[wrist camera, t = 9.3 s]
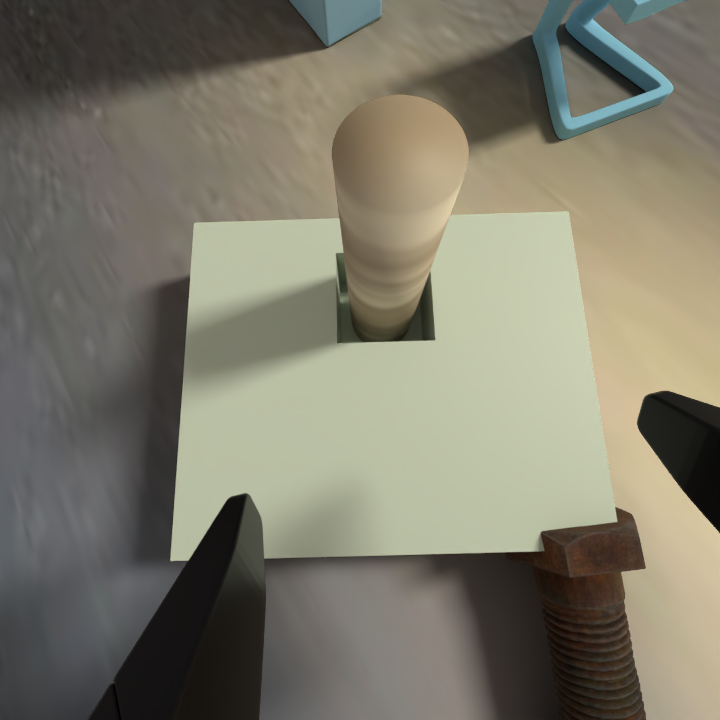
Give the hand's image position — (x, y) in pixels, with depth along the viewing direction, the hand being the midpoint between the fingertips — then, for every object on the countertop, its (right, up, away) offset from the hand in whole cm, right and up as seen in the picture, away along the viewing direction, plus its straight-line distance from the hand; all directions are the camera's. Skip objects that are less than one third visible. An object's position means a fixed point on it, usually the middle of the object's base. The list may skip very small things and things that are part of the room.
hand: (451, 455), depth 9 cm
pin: (-1, +4, +13) cm, 13 cm away
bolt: (+8, -13, +10) cm, 18 cm away
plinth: (-1, +1, +13) cm, 13 cm away
